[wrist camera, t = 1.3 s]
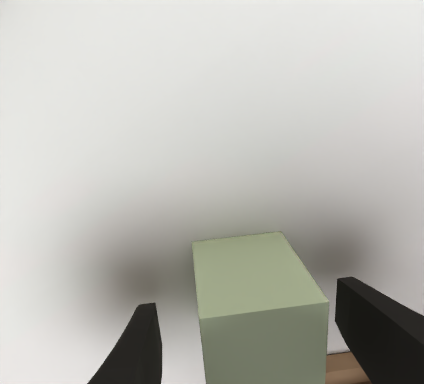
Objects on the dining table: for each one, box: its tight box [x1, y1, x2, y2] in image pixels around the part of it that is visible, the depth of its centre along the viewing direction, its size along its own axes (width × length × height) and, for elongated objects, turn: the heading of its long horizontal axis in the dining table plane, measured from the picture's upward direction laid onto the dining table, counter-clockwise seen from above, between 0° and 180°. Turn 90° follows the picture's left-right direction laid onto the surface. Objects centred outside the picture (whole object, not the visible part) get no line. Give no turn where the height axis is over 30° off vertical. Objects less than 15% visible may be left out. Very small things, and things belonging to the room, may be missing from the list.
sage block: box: [192, 231, 329, 384], centre depth 13 cm, size 4×4×5 cm
